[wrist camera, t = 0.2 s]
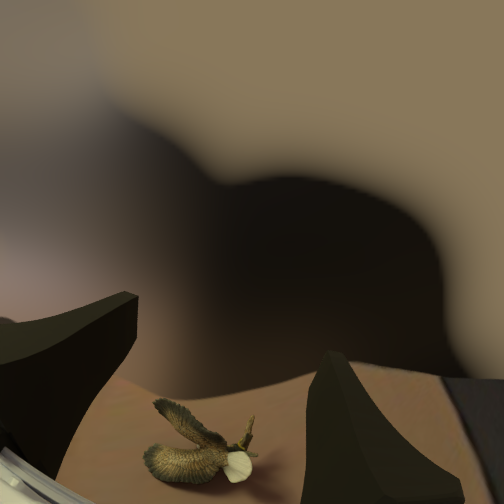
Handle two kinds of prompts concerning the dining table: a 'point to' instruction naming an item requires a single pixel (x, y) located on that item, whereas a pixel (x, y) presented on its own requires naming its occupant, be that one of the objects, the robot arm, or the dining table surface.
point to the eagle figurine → (198, 450)
